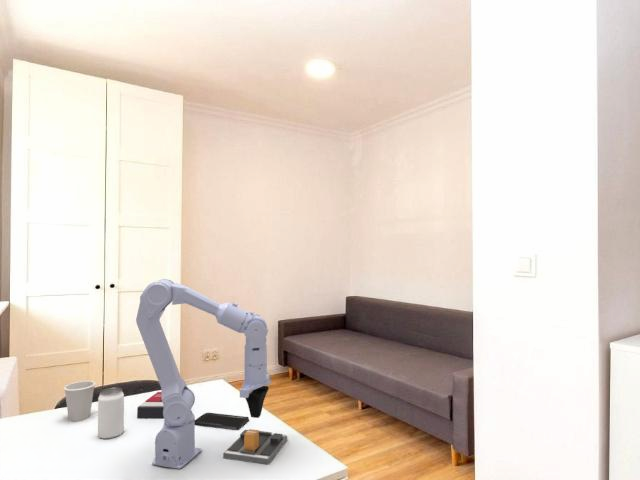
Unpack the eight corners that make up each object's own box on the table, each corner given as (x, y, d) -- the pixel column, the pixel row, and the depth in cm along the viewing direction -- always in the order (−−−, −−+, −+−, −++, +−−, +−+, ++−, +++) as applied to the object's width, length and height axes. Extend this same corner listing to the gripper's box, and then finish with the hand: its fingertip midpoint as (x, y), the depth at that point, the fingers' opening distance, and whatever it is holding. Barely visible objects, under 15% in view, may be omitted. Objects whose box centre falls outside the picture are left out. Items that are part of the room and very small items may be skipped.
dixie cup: (84, 423, 122) (85, 389, 122) (57, 423, 122) (57, 389, 122) (100, 412, 130) (100, 380, 131) (74, 412, 131) (74, 380, 131)
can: (113, 440, 111) (113, 395, 111) (92, 438, 112) (92, 394, 113) (128, 430, 117) (129, 387, 118) (108, 428, 119) (109, 386, 119)
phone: (206, 412, 128) (250, 417, 124) (206, 415, 128) (250, 420, 124) (191, 422, 121) (237, 427, 117) (191, 426, 121) (237, 431, 117)
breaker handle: (253, 451, 101) (253, 434, 101) (244, 450, 102) (244, 433, 102) (258, 446, 104) (258, 429, 104) (249, 444, 105) (249, 428, 105)
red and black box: (188, 390, 141) (172, 404, 126) (188, 403, 140) (172, 419, 125) (156, 390, 141) (136, 404, 126) (156, 403, 140) (136, 419, 125)
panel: (268, 464, 98) (268, 454, 98) (223, 458, 101) (223, 448, 101) (287, 440, 111) (287, 431, 111) (246, 435, 114) (246, 426, 114)
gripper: (258, 372, 98) (258, 430, 98) (280, 357, 112) (280, 407, 112) (231, 370, 100) (231, 427, 99) (256, 355, 114) (256, 405, 113)
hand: (255, 416), depth 106 cm, fingers closed
